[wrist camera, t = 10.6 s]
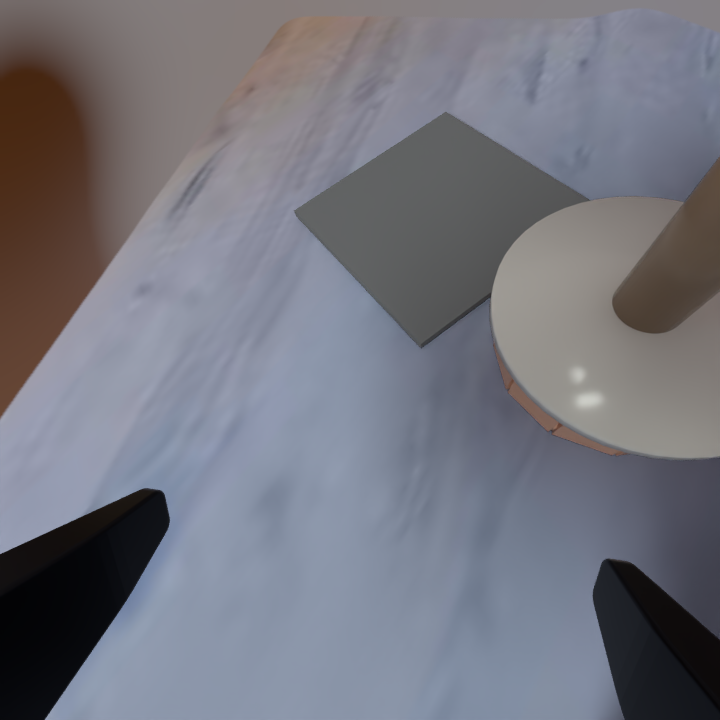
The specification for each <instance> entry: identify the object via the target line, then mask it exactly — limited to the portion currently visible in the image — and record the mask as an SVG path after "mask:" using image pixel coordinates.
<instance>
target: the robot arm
mask: <svg viewBox="0 0 720 720" xmlns="http://www.w3.org/2000/svg"><path fill="white" fill-rule="evenodd" d="M169 523H170V517H169V512H168V508H167V503H166V498H165V495H164V493H163V492H162V491H160V490H156V489H149V488H144V489H141V490H139V491H137V492H134V493H132V494H130V495H128V496H126V497H123V498H121V499H119V500H117V501H115V502H113V503H110V504H108V505H106V506H104V507H102V508H100V509H97V510H95V511H93V512H91V513H89V514H87V515H84V516H82V517H80V518H78V519H76V520H74V521H71V522H69V523H67V524H65V525H63V526H61V527H58V528H56V529H54V530H52V531H50V532H48V533H45V534H43V535H41V536H39V537H37V538H34V539H32V540H30V541H28V542H26V543H24V544H21V545H19V546H17V547H15V548H13V549H11V550H8V551H6V552H4V553H2V554H0V720H45V719H46V717H47V716H48V714H49V713H50V711H51V710H52V708H53V707H54V705H55V704H56V703H57V701H58V700H59V698H60V697H61V695H62V694H63V692H64V691H65V690H66V688H67V687H68V685H69V684H70V682H71V681H72V679H73V678H74V676H75V675H76V674H77V672H78V671H79V669H80V668H81V666H82V665H83V663H84V662H85V661H86V659H87V658H88V656H89V655H90V653H91V652H92V650H93V649H94V647H95V646H96V645H97V643H98V642H99V640H100V639H101V637H102V636H103V634H104V633H105V631H106V630H107V629H108V627H109V626H110V624H111V623H112V621H113V620H114V618H115V617H116V616H117V614H118V613H119V611H120V610H121V608H122V607H123V605H124V604H125V602H126V601H127V599H128V597H129V596H130V594H131V592H132V591H133V589H134V587H135V586H136V584H137V582H138V580H139V579H140V577H141V575H142V574H143V572H144V570H145V568H146V567H147V565H148V563H149V561H150V560H151V558H152V556H153V554H154V553H155V551H156V549H157V547H158V546H159V544H160V542H161V540H162V539H163V537H164V535H165V533H166V532H167V530H168V527H169ZM593 602H594V607H595V611H596V615H597V619H598V623H599V627H600V630H601V634H602V638H603V642H604V646H605V650H606V654H607V658H608V662H609V666H610V670H611V674H612V678H613V681H614V685H615V689H616V693H617V696H618V700H619V703H620V707H621V710H622V713H623V716H624V719H625V720H720V640H719V639H718V638H717V637H716V636H715V635H714V634H713V633H711V632H710V631H709V630H708V629H707V628H706V627H705V626H703V625H702V624H701V623H700V622H699V621H698V620H697V619H695V618H694V617H693V616H692V615H691V614H690V613H689V612H687V611H686V610H685V609H684V608H683V607H682V606H681V605H680V604H678V603H677V602H676V601H675V600H674V599H673V598H672V597H670V596H669V595H668V594H667V593H666V592H665V591H664V590H662V589H661V588H660V587H659V586H658V585H657V584H656V583H654V582H653V581H652V580H651V579H650V578H649V577H648V576H646V575H645V574H644V573H643V572H642V571H641V570H640V569H638V568H637V567H636V566H635V565H634V564H632V563H630V562H628V561H622V560H615V559H605V560H604V561H603V562H602V564H601V567H600V570H599V573H598V576H597V580H596V583H595V586H594V589H593Z"/></svg>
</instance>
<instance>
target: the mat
mask: <svg viewBox="0 0 720 720" xmlns="http://www.w3.org/2000/svg"><path fill="white" fill-rule="evenodd" d="M587 201H590V200H589V199H587V198H585V197H584V196H582V195H581V194H579V193H577V192H576V191H574V190H572V189H571V188H569V187H567V186H566V185H564V184H563V183H561V182H559V181H558V180H556V179H554V178H553V177H551V176H550V175H548V174H546V173H545V172H543V171H541V170H540V169H538V168H536V167H535V166H533V165H532V164H530V163H528V162H527V161H525V160H523V159H522V158H520V157H519V156H517V155H515V154H514V153H512V152H510V151H509V150H507V149H505V148H504V147H502V146H501V145H499V144H497V143H496V142H494V141H492V140H491V139H489V138H488V137H486V136H484V135H483V134H481V133H479V132H478V131H476V130H474V129H473V128H471V127H470V126H468V125H466V124H465V123H463V122H461V121H460V120H458V119H457V118H455V117H453V116H452V115H450V114H448V113H447V112H445V113H443V114H442V115H440V116H439V117H437V118H436V119H434V120H433V121H431V122H430V123H428V124H427V125H425V126H423V127H422V128H420V129H419V130H417V131H416V132H414V133H413V134H411V135H410V136H408V137H407V138H405V139H404V140H402V141H400V142H399V143H397V144H396V145H394V146H393V147H391V148H390V149H388V150H387V151H385V152H384V153H382V154H380V155H379V156H377V157H376V158H374V159H373V160H371V161H370V162H368V163H367V164H365V165H364V166H362V167H361V168H359V169H357V170H356V171H354V172H353V173H351V174H350V175H348V176H347V177H345V178H344V179H342V180H341V181H339V182H338V183H336V184H334V185H333V186H331V187H330V188H328V189H327V190H325V191H324V192H322V193H321V194H319V195H318V196H316V197H315V198H313V199H311V200H310V201H308V202H307V203H305V204H304V205H302V206H301V207H299V208H298V209H296V210H295V211H294V212H295V214H296V216H297V217H298V219H299V220H300V221H301V222H302V223H303V224H304V225H305V226H306V227H307V228H308V229H309V230H310V231H311V232H312V233H313V234H314V235H315V237H316V238H317V239H318V240H319V241H320V242H321V243H322V244H323V245H324V246H325V247H326V248H327V249H328V250H329V251H330V252H331V253H332V255H333V256H334V257H335V258H336V259H337V260H338V261H339V262H340V263H341V264H342V265H343V266H344V267H345V268H346V269H347V270H348V271H349V273H350V274H351V275H352V276H353V277H354V278H355V279H356V280H357V281H358V282H359V283H360V284H361V285H362V286H363V287H364V288H365V289H366V291H367V292H368V293H369V294H370V295H371V296H372V297H373V298H374V299H375V300H376V301H377V302H378V303H379V304H380V305H381V306H382V307H383V309H384V310H385V311H386V312H387V313H388V314H389V315H390V316H391V317H392V318H393V319H394V320H395V321H396V322H397V323H398V324H399V325H400V327H401V328H402V329H403V330H404V331H405V332H406V333H407V334H408V335H409V336H410V337H411V338H412V339H413V340H414V341H415V342H416V343H417V344H418V346H419V347H420V348H422V347H424V346H425V345H426V344H428V343H429V342H430V341H432V340H433V339H434V338H436V337H437V336H438V335H440V334H441V333H442V332H444V331H445V330H446V329H448V328H449V327H450V326H452V325H453V324H454V323H456V322H457V321H458V320H460V319H461V318H462V317H464V316H465V315H466V314H468V313H469V312H471V311H472V310H473V309H475V308H476V307H477V306H479V305H480V304H481V303H483V302H484V301H485V300H487V299H488V298H489V297H491V292H492V288H493V284H494V280H495V277H496V274H497V271H498V268H499V266H500V264H501V262H502V260H503V258H504V256H505V254H506V253H507V251H508V250H509V249H510V247H511V246H512V244H513V243H514V242H515V241H516V240H517V239H518V238H519V237H520V236H521V235H522V234H523V233H524V232H525V231H526V230H527V229H529V228H530V227H531V226H533V225H534V224H535V223H537V222H538V221H540V220H542V219H543V218H545V217H547V216H548V215H550V214H552V213H555V212H557V211H559V210H561V209H564V208H566V207H569V206H573V205H576V204H579V203H582V202H587Z"/></svg>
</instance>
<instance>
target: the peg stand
mask: <svg viewBox="0 0 720 720" xmlns="http://www.w3.org/2000/svg"><path fill="white" fill-rule="evenodd" d="M489 320H490V326H491V333H492V337H493V340H494V343H495V346H496V349H497V352H498V354H499V356H500V358H501V360H502V362H503V364H504V366H505V368H506V369H507V371H508V372H509V374H510V375H511V377H512V378H513V380H514V381H515V383H516V384H517V385H518V386H519V387H520V388H521V390H522V391H523V392H524V393H525V394H526V395H527V397H528V398H529V399H531V400H532V401H533V402H534V403H535V404H536V405H537V406H538V407H539V408H540V409H541V410H543V411H544V412H545V413H546V414H548V415H549V416H551V417H552V418H553V419H555V420H556V421H557V422H559V423H560V424H562V425H563V426H565V427H567V428H569V429H570V430H572V431H574V432H576V433H577V434H579V435H581V436H583V437H585V438H587V439H590V440H592V441H594V442H596V443H599V444H601V445H603V446H606V447H609V448H612V449H615V450H619V451H622V452H625V453H628V454H633V455H638V456H643V457H648V458H653V459H664V460H675V461H684V460H705V459H712V458H718V457H720V157H719V158H718V159H717V160H716V162H715V163H714V164H713V166H712V167H711V168H710V169H709V171H708V172H707V173H706V175H705V176H704V177H703V179H702V180H701V181H700V182H699V184H698V185H697V186H696V188H695V189H694V190H693V191H692V193H691V194H690V195H689V197H688V198H687V199H686V200H685V202H681V201H676V200H670V199H663V198H655V197H638V196H629V197H611V198H603V199H596V200H592V201H587V202H582V203H579V204H576V205H573V206H569V207H566V208H564V209H561V210H559V211H557V212H555V213H552V214H550V215H548V216H547V217H545V218H543V219H542V220H540V221H538V222H537V223H535V224H534V225H533V226H531V227H530V228H529V229H527V230H526V231H525V232H524V233H523V234H522V235H521V236H520V237H519V238H518V239H517V240H516V241H515V242H514V243H513V244H512V246H511V247H510V249H509V250H508V251H507V253H506V254H505V256H504V258H503V260H502V262H501V264H500V266H499V268H498V271H497V274H496V277H495V280H494V284H493V288H492V292H491V298H490V304H489Z"/></svg>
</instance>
